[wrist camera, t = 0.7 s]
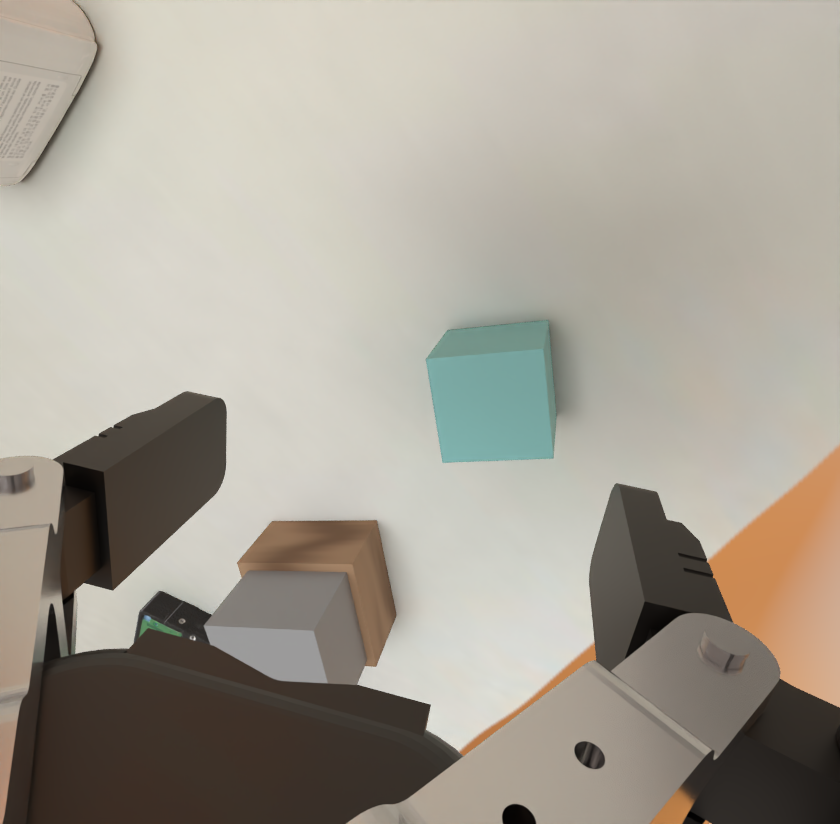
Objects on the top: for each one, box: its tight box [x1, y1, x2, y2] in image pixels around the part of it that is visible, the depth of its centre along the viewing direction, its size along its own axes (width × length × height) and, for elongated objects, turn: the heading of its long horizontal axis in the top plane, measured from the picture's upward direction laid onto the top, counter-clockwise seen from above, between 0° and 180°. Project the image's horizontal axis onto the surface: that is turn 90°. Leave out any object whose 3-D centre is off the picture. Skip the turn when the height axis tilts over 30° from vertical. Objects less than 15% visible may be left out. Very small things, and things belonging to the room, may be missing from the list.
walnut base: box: [237, 520, 396, 667], centre depth 36 cm, size 7×7×4 cm
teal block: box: [426, 320, 557, 463], centre depth 28 cm, size 5×5×5 cm
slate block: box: [204, 570, 367, 685], centre depth 32 cm, size 6×6×4 cm
